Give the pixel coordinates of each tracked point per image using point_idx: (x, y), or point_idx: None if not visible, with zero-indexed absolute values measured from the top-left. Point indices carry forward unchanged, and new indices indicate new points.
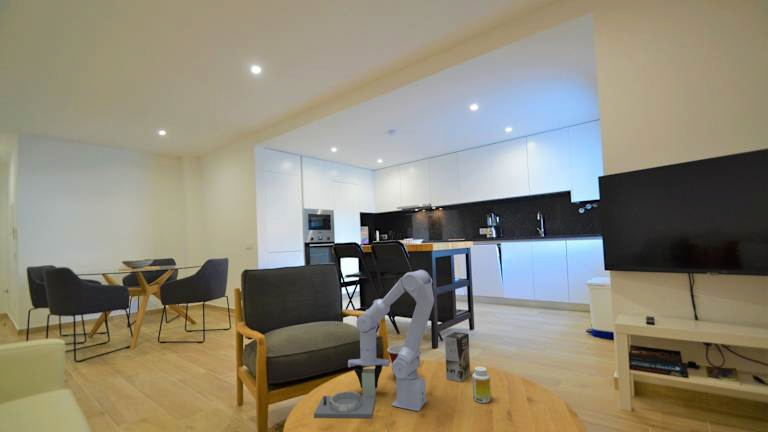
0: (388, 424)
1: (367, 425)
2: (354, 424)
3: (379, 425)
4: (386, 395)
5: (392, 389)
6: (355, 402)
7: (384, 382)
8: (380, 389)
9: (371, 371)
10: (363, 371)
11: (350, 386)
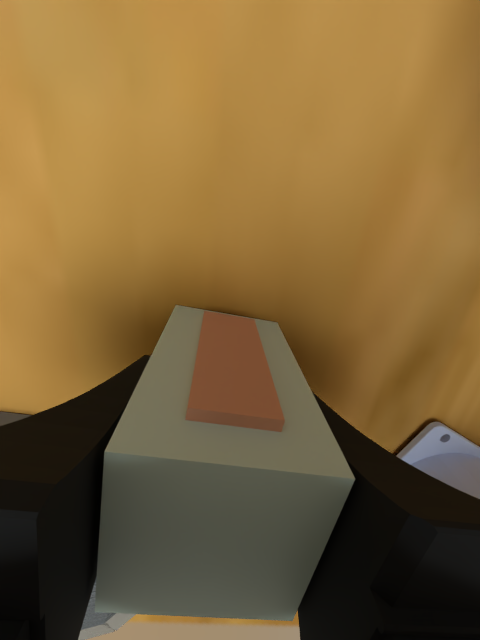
0: (281, 621)
1: (193, 623)
2: (135, 617)
3: (243, 624)
4: (339, 392)
5: (412, 305)
6: (113, 620)
7: (394, 129)
8: (318, 288)
9: (258, 571)
10: (116, 557)
11: (26, 161)
